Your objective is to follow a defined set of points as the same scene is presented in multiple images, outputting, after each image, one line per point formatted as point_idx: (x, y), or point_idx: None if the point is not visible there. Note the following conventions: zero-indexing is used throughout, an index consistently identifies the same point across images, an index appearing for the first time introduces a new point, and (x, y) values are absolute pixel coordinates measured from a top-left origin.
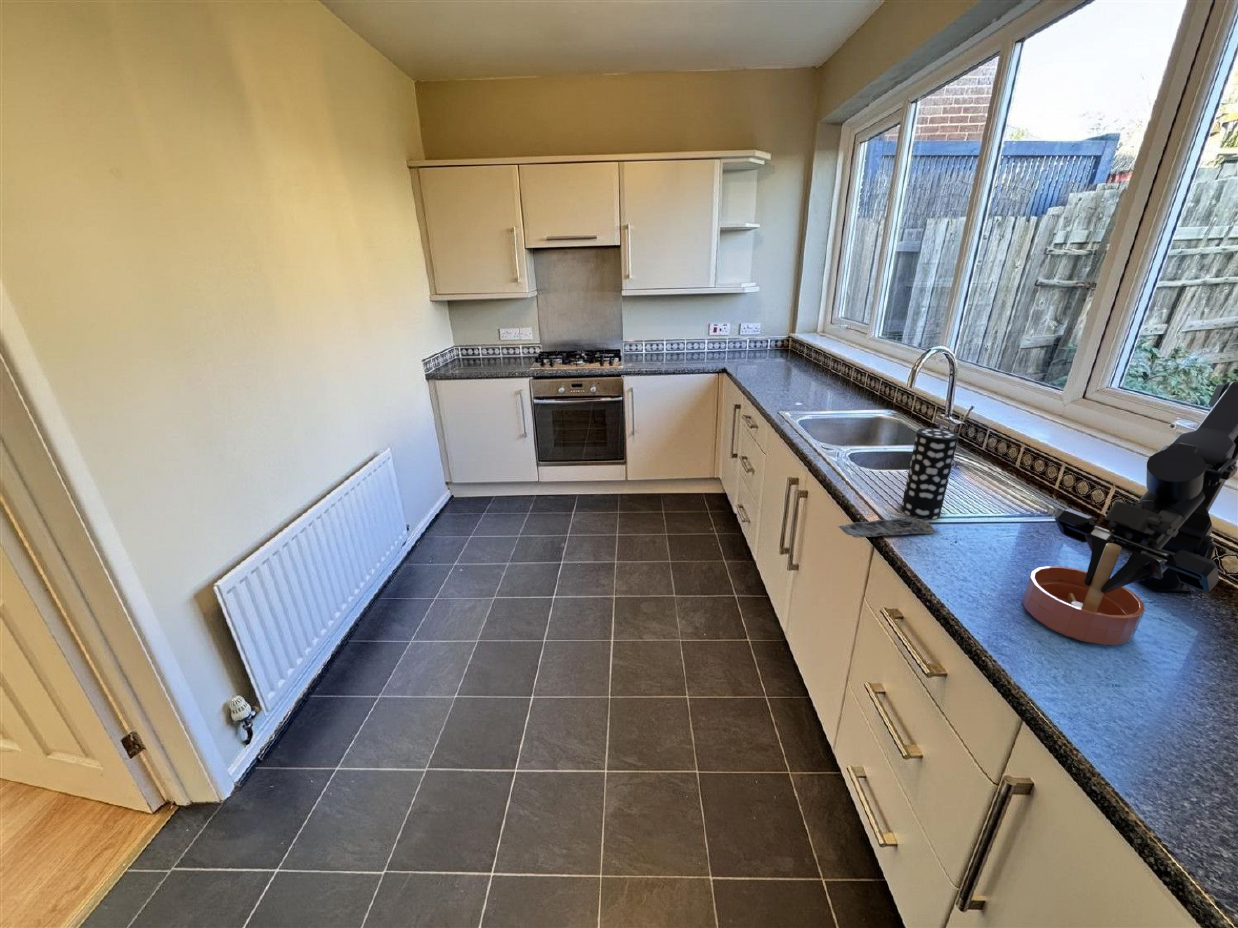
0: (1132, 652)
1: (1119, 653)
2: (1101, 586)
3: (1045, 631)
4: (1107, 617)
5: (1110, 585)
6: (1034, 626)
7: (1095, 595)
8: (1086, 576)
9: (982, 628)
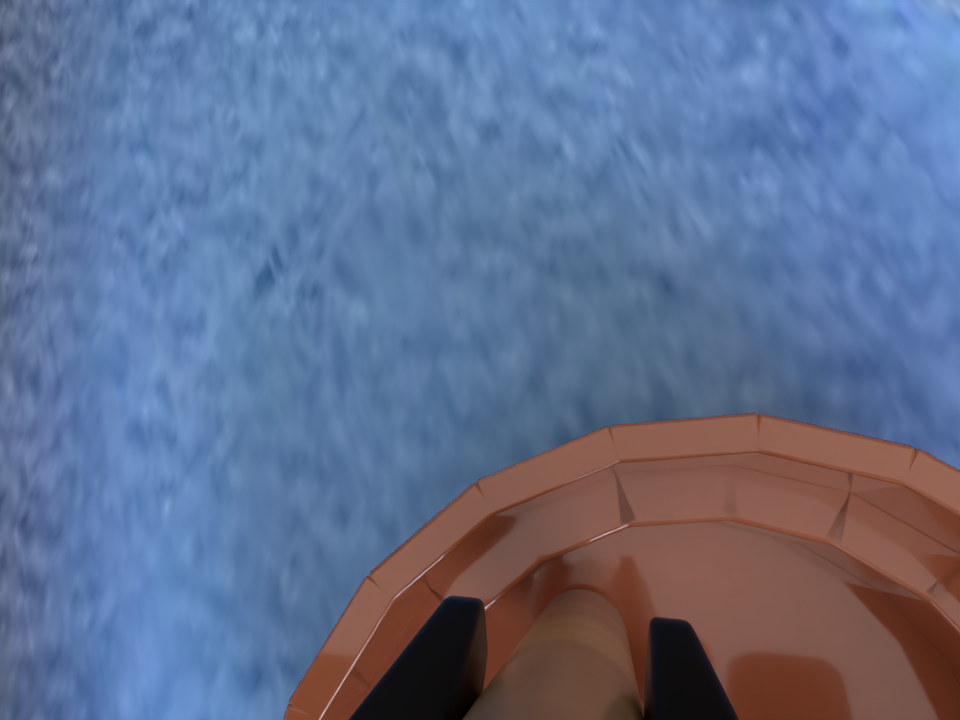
0: None
1: None
2: (502, 668)
3: None
4: (396, 551)
5: (396, 669)
6: None
7: (538, 633)
8: (716, 688)
9: (919, 86)
